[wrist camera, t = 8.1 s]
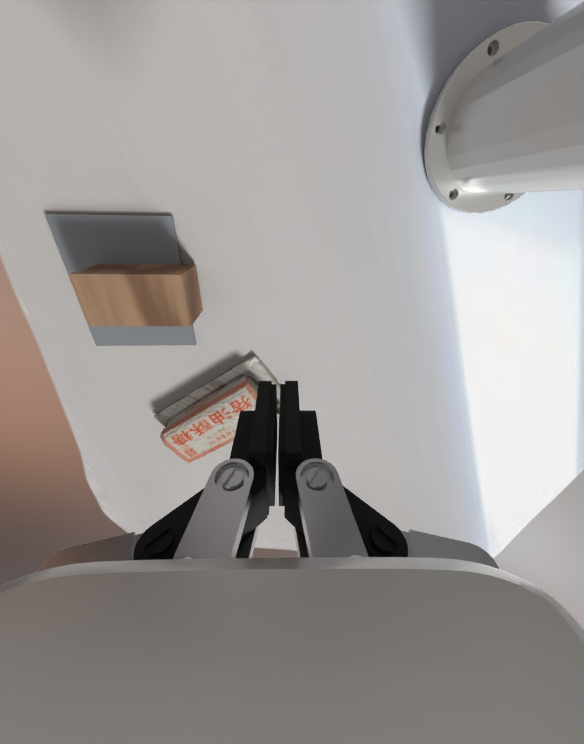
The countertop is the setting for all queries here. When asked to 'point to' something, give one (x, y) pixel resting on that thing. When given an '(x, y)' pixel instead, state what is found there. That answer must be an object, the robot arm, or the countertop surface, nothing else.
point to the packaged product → (213, 411)
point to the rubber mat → (121, 262)
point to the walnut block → (138, 294)
